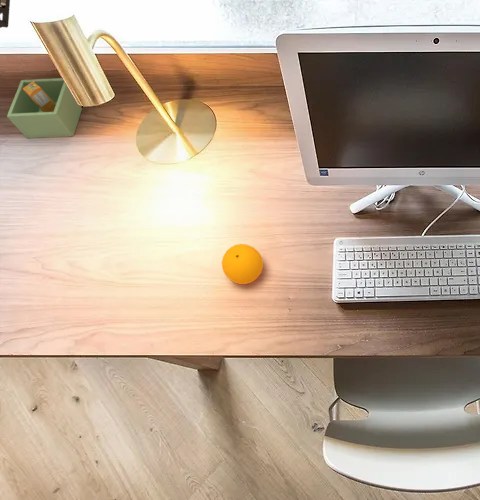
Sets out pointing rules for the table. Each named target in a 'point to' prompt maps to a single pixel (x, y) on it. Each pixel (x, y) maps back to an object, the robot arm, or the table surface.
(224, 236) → the table surface
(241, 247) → the orange fruit
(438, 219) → the table surface
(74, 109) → the bin
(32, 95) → the supplement box
